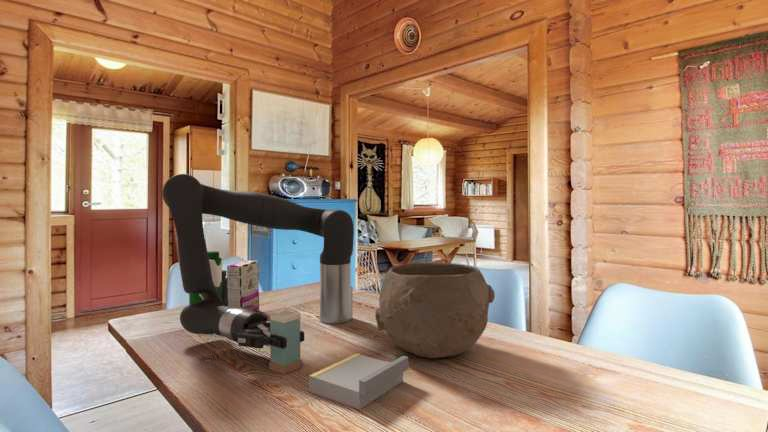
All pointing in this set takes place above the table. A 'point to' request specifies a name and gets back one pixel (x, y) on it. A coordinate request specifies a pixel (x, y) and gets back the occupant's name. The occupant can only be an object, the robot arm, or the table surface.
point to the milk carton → (216, 276)
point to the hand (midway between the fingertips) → (294, 340)
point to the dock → (357, 379)
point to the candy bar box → (243, 285)
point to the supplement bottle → (224, 288)
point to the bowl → (434, 307)
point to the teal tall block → (290, 329)
